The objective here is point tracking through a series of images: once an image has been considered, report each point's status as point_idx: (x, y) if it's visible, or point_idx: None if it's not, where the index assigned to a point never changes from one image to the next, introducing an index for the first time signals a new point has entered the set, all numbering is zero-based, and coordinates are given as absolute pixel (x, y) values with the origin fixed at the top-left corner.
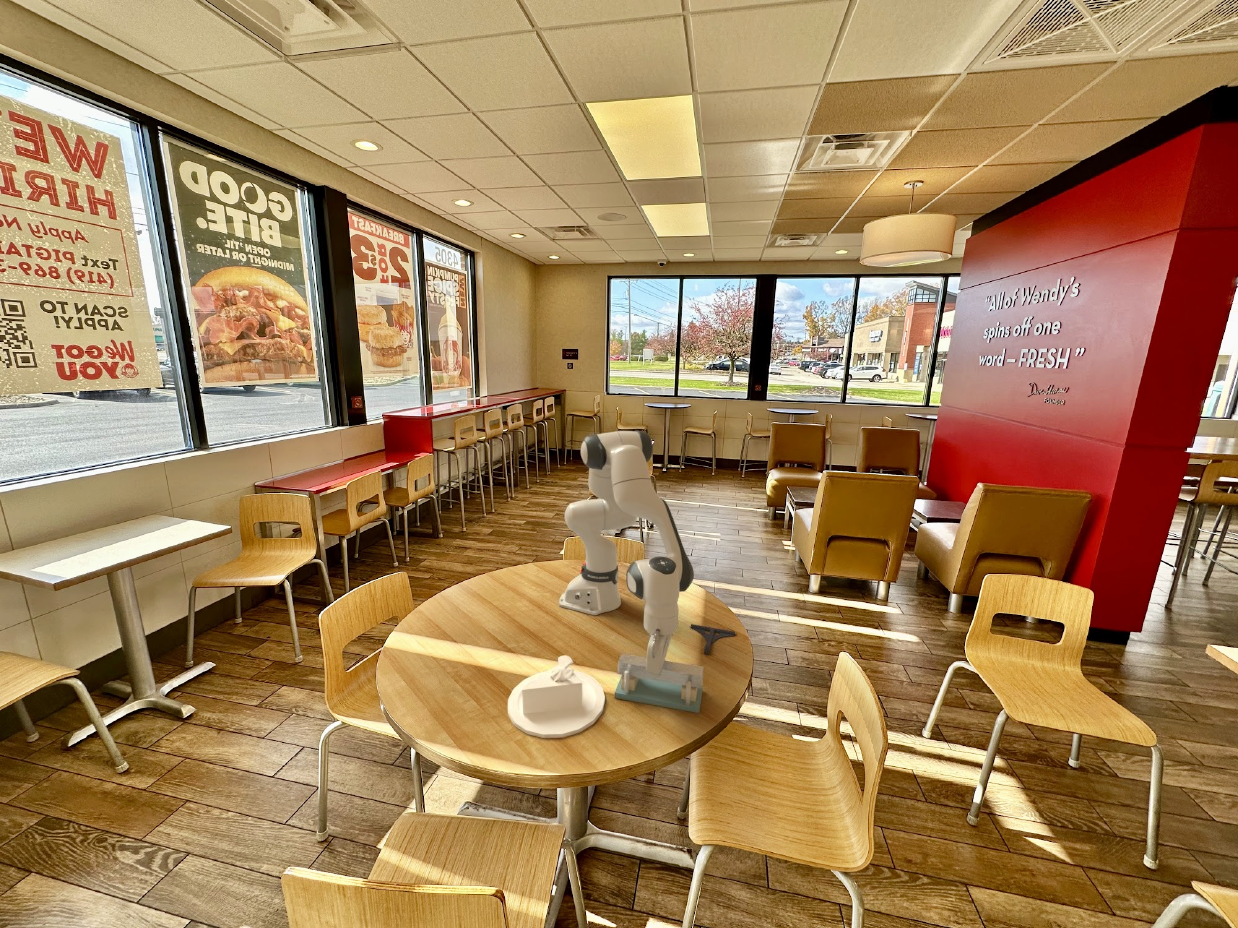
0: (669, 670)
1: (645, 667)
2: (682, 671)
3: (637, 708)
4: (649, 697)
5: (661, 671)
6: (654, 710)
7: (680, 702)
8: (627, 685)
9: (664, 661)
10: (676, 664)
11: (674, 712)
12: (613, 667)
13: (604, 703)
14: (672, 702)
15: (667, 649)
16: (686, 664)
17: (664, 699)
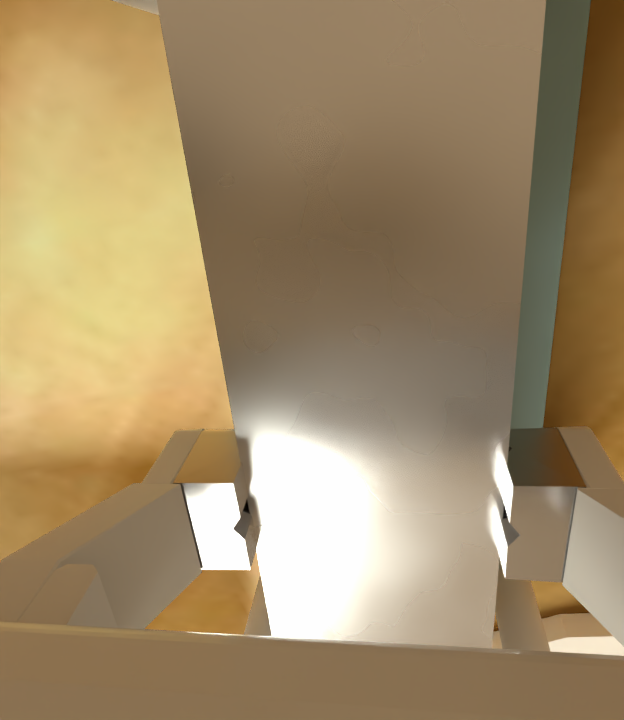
0: (513, 335)
1: (491, 643)
2: (482, 48)
3: (607, 424)
4: (526, 379)
5: (518, 444)
6: (614, 296)
7: (548, 55)
8: (533, 600)
9: (266, 453)
10: (273, 243)
11: (618, 103)
12: (213, 623)
13: (587, 613)
14: (563, 150)
15: (250, 694)
16: (177, 16)
17: (528, 244)
